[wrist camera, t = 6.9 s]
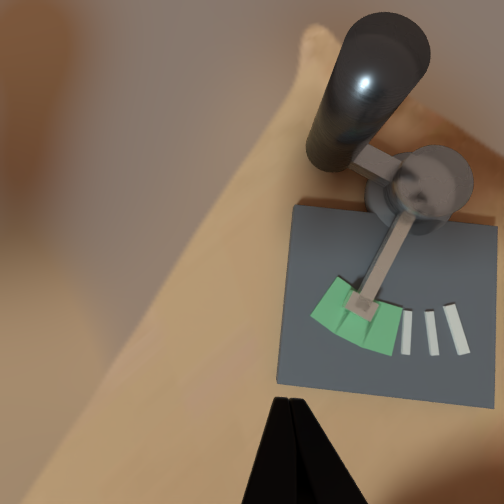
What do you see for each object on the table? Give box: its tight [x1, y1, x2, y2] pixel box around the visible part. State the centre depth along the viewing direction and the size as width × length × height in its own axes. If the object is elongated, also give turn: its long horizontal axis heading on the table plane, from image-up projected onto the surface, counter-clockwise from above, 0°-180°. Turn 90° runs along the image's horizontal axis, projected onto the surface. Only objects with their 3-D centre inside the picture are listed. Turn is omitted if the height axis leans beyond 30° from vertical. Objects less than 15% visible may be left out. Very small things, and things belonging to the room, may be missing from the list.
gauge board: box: [276, 152, 498, 409], centre depth 20 cm, size 17×14×1 cm
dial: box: [306, 12, 474, 322], centre depth 16 cm, size 10×12×8 cm
